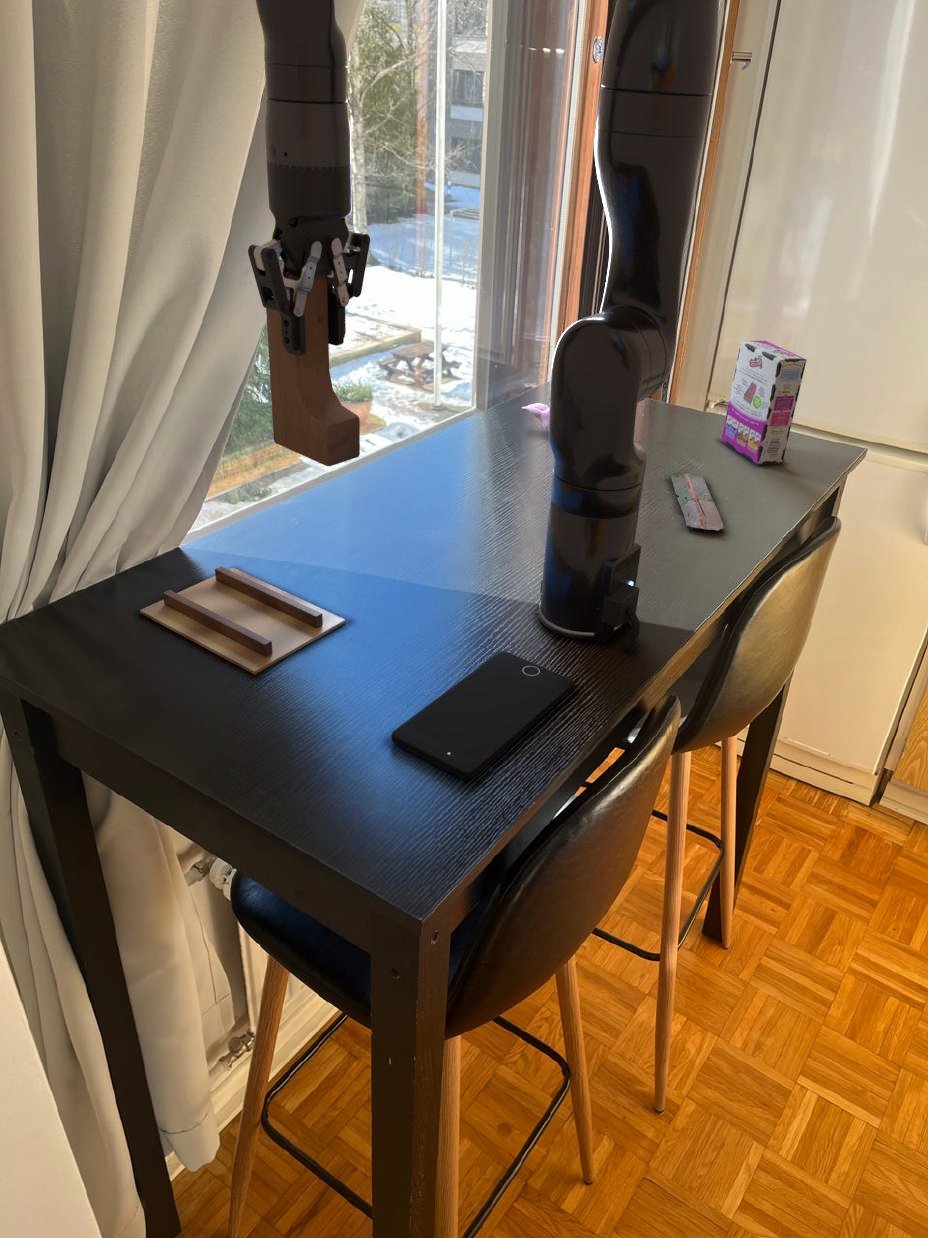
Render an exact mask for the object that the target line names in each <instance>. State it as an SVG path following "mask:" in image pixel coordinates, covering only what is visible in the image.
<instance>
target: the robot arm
mask: <svg viewBox="0 0 928 1238" xmlns="http://www.w3.org/2000/svg"><path fill="white" fill-rule="evenodd" d="M255 5H256V10H257V14H258V19H259V22H260V26H261V31H262V35H263V44H264V45H263V59H264V78H265V96H266V100H265V102H266V103H265V119H264V133H265V134H264V138H265V139H264V140H265V157H266V175H267V176H266V177H267V193H268V208H269V211H270V212H271V213H272V215H273V218H274V222H275V224H274V227H273V228H274V229H273V232H272V236H271V239H270V240H269V241H267V242H265V243H263V244H261V245H259V244H254V243H253V244H250V245H249V247H248V249H247V255H248V258H249V261H250V265H251V269H252V272H253V276H254V279H255V283H256V286H257V290H258V294H259V297H260V300H261V304H262V307H263V308H265V309H266V308H267V309H271V310H274V311H278V312H279V313H280V315H281V327H282V343H283V346H284V348H285V349H286V351H287V352H288V353H291V354H294V355H297V356H300V355H303V354H305V353H306V332H305V316H302V315H303V313H304V308H305V303H306V297H307V294H308V293H309V292H310V291H311V290H312V286H313V281H314V278H315V277H317V276H319V275H325V279H326V283H327V296H328V336H329V345H331V346H335V347H338V346H341V345H343V344H344V342H345V336H346V334H347V333H346V332H347V329H346V326H347V325H346V324H347V323H346V307H347V306H348V305H349V303H350V300H351V299H352V298H359V297H360V296H361V295H362V292H363V286H364V280H365V274H366V268H367V262H368V256H369V251H370V244H371V237H370V235H369V233H364V232H360V231H355V230H349V225H348V223H347V220H346V218H347V217H349V216H350V215H351V213H352V211H353V205H352V204H353V197H352V196H353V190H352V189H353V187H352V182H353V181H352V129H351V122H350V115H349V103H348V101H349V99H348V98H349V96H348V95H349V94H348V92H349V91H348V90H349V89H348V51H347V44H346V39H345V35H344V32H343V31H342V29H341V28H340V26H339V25H338V22H337V17H336V4H335V0H255ZM719 11H720V0H616V3H615V6H614V11H613V16H612V20H611V25H610V29H609V34H608V40H607V45H606V49H605V55H604V61H603V66H602V67H603V68H602V73H601V80H600V88H599V97H598V104H597V105H598V107H597V112H596V113H597V115H596V123H595V134H594V162H595V169H596V170H595V171H596V176H597V177H596V178H597V181H598V186H599V191H600V196H601V200H602V201H601V202H602V204H603V208H604V214H605V219H606V222H607V228H608V237H609V257H608V266H607V274H606V282H605V287H604V292H603V297H602V302H601V305H600V310H599V312H598V313H594V314H592V315H588V316H586V317H583V318H581V319H579V320H577V321H575V322H574V323H572V324H571V325H569V326H568V327H567V328H565V330H564V332H563V333H562V334H561V336H560V338H559V339H558V341H557V344H556V347H555V350H554V354H553V358H552V365H551V370H550V371H551V373H550V387H549V405H548V406H549V432H548V441H549V446H550V448H551V452H552V456H553V467H552V476H551V485H550V487H551V488H550V495H549V496H550V497H549V507H548V508H549V509H548V517H547V527H546V528H547V529H546V538H545V549H544V559H543V571H542V580H541V582H540V592H539V593H540V597H539V598H540V599H539V600H540V602H539V606H538V619H539V621H540V622H541V624H542V625H543V626H544V627H545V628H546V629H548V630H549V631H551V632H553V633H554V634H557V635H560V636H562V637H566V638H569V639H574V640H581V641H595V642H598V643H601V644H604V643H606V642H607V641H608V640H609V639H610V638H612V637H613V636H614V635H616V634H617V633H619V632H620V631H621V630H622V629H623V628H624V627H625V626H627V624H629V623H631V632H630V634H629V636H628V637H627V639H626V640H625V642H624V645H625V646H626V647H628V648H632V647H633V645H634V643H635V642H636V640H637V639H638V637H639V634H640V631H641V624H640V620H639V617H638V615H637V608H638V601H639V596H640V595H639V594H640V590H641V589H640V587H637V586H636V585H637V578H638V573H639V572H638V571H639V566H640V561H641V553H642V545H641V544H639V543H637V542H636V541H635V540H636V534H637V527H638V520H639V514H640V507H641V501H642V494H643V487H644V480H645V475H646V470H647V461H648V458H647V457H648V456H647V452H646V449H645V448H644V447H643V446H642V445H641V444H640V443H639V442H638V441H635V427H636V418H637V416H636V415H637V410H638V409H637V408H638V403H640V402H642V401H644V400H646V399H648V398H650V397H651V396H653V395H654V394H655V393H657V392H658V391H659V390H660V389H661V388H662V387H663V386H664V384H665V382H666V381H667V379H668V378H669V376H670V374H671V371H672V369H673V365H674V361H675V356H676V349H677V336H678V323H679V308H680V307H679V306H680V291H681V279H682V277H681V276H682V268H683V267H682V266H683V260H684V259H683V258H684V252H685V246H686V241H687V240H686V239H687V234H688V229H689V224H690V219H691V214H692V208H693V202H694V196H695V190H696V183H697V178H698V177H697V176H698V172H699V167H700V161H701V155H702V151H703V147H704V146H703V145H704V142H705V135H706V130H707V123H708V117H709V111H710V105H711V99H712V95H711V94H712V93H713V88H714V80H715V72H716V62H717V50H718V38H719V37H718V36H719V14H720V12H719ZM351 270H352V275H351V281H350V282H349V280H350V273H351ZM287 273H292V274H293V275H295V276H298V277H300V279H299V280H298V281H296V280H292V279H289V278H288V274H287ZM292 288H293V289H294V297H293V302H292V301H291V289H292Z"/></svg>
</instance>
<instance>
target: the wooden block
mask: <svg viewBox="0 0 928 1238" xmlns="http://www.w3.org/2000/svg"><path fill="white" fill-rule="evenodd" d="M287 274H288V278H289V279H292V280H296V281H298V280H299V279H300V277H298V276H295V275H293V274H292V273H287ZM293 297H294V289H293V288H292V289H291V301H292V302H293ZM265 312H266V314H265V315H266V330H267V331H266V332H267V346H268V347H267V349H268V350H267V351H268V366H269V367H268V368H269V383H270V398H271V415H272V433H273V442H274V443H275V444H277V445H278V446H281V447H283V448H285V449H287V450H290V451H292V452H295V453H296V454H298V455H301V456H303V457H305V458H307V459H310V460H312V461H315V462H316V463H319V464H321V465H323V466H326V467H332V466H336V465H338V464H341V463H345V462H347V461H350V460H353V459H357V458H359V457H360V455H361V436H360V435H361V433H360V429H361V428H360V427H361V426H360V425H361V424H360V423H361V422H360V421H361V419H360V417H359V415H357V414H356V413H354V412H353V411H351V410H350V409H348V407H346V406H344V405H343V404H342V403H341V401H340V399H339V397H338V396H337V394H336V392H335V391H334V390H335V389H334V387H333V383H332V377H331V371H330V346H329V345H330V344H329V336H328V296H327V283H326V279H325V275H319V276H317V277H315V278H314V281H313V286H312V290H311V291H310V292H309V293H308V294H307V297H306V303H305V308H304V313H303V315H302V316H305V332H306V353H305V354H303V355H300V356H297V355H294V354H291V353H288V352H287V351H286V349H285V348H284V346H283V343H282V327H281V315H280V313H279V312H278V311H274V310H271V309H267V308H265Z"/></svg>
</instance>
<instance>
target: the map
mask: <svg viewBox="0 0 928 1238" xmlns="http://www.w3.org/2000/svg"><path fill="white" fill-rule="evenodd" d="M670 477H671V482H672V485H673V486H672V487H673V489H674V493H675V495H676V496H677V498H676V499H677V502H678V504H679V506H680V509H681V512H682V515H683V516H684V521H685V524H686V526H687V527H691V528H695V529H703V530H708V531H711V530H714V531H720V530H721V529H722V530H724V524H723V520H722V517H721V515H720V513H719V511H718V509H717V506H716V504H715V501H714V499H713V497H712V494H711V492H710V490H709V488H708V486H707V484H706V481H705V477H704V476H703V475H698V474H693V473H689V472H687V471H686V472H682V473H681V472H680V473H674V474H671V476H670Z"/></svg>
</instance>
